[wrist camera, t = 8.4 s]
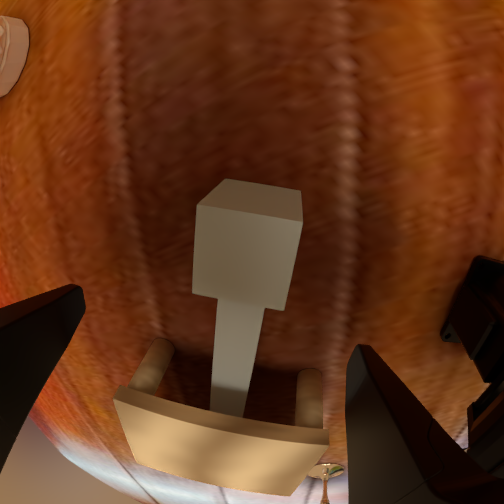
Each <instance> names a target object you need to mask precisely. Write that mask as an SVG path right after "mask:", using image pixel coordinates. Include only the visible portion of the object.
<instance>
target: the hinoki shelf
mask: <svg viewBox="0 0 504 504" xmlns="http://www.w3.org/2000/svg"><path fill="white" fill-rule="evenodd" d="M174 353H175V348H174V346H173V345H172V343H170V342H169V341H168V340H166V339H163V338H157V339H155V340H154V341H153V343H152V345H151V346H150V348H149V350H148V351H147V353H146V355H145V357H144V358H143V360H142V362H141V363H140V365H139V367H138V369H137V370H136V372H135V374H134V376H133V377H132V379H131V381H130V383H129V384H128V386H127V387H125V386H122V385H120V386H119V388H118V390H117V392H116V393H115V395H114V397H113V401H114V404H115V407H116V410H117V413H118V416H119V419H120V422H121V424H122V427H123V430H124V433H125V435H126V438H127V440H128V443H129V446H130V448H131V450H132V453H133V455H134V458H135V460H136V462H137V463H139V464H141V465H144V466H147V467H150V468H153V469H156V470H159V471H163V472H166V473H169V474H172V475H176V476H179V477H183V478H187V479H191V480H195V481H199V482H203V483H207V484H212V485H216V486H221V487H226V488H231V489H237V490H243V491H249V492H256V493H263V494H271V495H280V496H291V494H292V493H293V492H294V491H295V490H296V488H297V487H298V486H299V485H300V483H301V482H302V481H303V480H304V479H305V477H306V476H307V475H308V473H309V472H310V471H311V470H312V468H313V467H314V466H315V464H316V463H317V462H318V460H319V459H320V458H321V456H322V455H323V454H324V452H325V451H326V449H327V448H328V447H329V429H323V401H322V375H321V373H320V372H319V371H318V370H316V369H311V368H309V369H304V370H302V371H300V372H299V373H298V375H297V393H296V412H295V426H290V425H283V424H276V423H269V422H263V421H257V420H251V419H245V418H240V417H235V416H230V415H225V414H221V413H216V412H212V411H207V410H203V409H199V408H195V407H191V406H187V405H183V404H180V403H176V402H172V401H169V400H165V399H162V398H159V397H155V396H154V394H155V392H156V390H157V388H158V386H159V384H160V382H161V379H162V377H163V375H164V373H165V371H166V369H167V367H168V365H169V363H170V361H171V359H172V357H173V355H174Z"/></svg>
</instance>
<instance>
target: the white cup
mask: <svg viewBox="0 0 504 504" xmlns="http://www.w3.org/2000/svg"><path fill="white" fill-rule="evenodd" d="M28 47H29V32H28V27H27V26H26V25H25V23H24V22H23V20H22V19H17V18H12V17H6V16H1V15H0V97H2V96H4V95H6V94H7V93H8V92H9V91H10V90H11V88H12V87H13V86H14V84H15V83H16V82H17V80H18V78H19V76H20V74H21V71H22V69H23V67H24V65H25V62H26V57H27V52H28Z"/></svg>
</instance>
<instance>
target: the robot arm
mask: <svg viewBox="0 0 504 504" xmlns="http://www.w3.org/2000/svg"><path fill="white" fill-rule="evenodd" d="M480 263H482V264H481V266H479V265H480ZM85 309H86V305H85V300H84V294H83V289H82V288H81V287H80V286H78V285H75V284H68V285H65V286H62V287H60V288H57V289H54V290H51V291H48V292H45V293H42V294H39V295H36V296H33V297H31V298H28V299H25V300H22V301H19V302H16V303H14V304H11V305H8V306H5V307H2V308H0V473H1V471H2V468H3V466H4V464H5V462H6V459H7V457H8V455H9V453H10V451H11V449H12V446H13V444H14V442H15V440H16V437H17V436H18V434H19V432H20V430H21V428H22V425H23V424H24V422H25V420H26V418H27V416H28V414H29V412H30V410H31V408H32V407H33V405H34V403H35V401H36V399H37V397H38V396H39V394H40V392H41V390H42V388H43V387H44V385H45V383H46V381H47V380H48V378H49V376H50V375H51V373H52V371H53V370H54V368H55V366H56V364H57V363H58V361H59V360H60V358H61V356H62V355H63V353H64V351H65V350H66V348H67V346H68V344H69V342H70V341H71V339H72V336H73V334H74V332H75V330H76V329H77V327H78V325H79V323H80V321H81V319H82V317H83V315H84V313H85ZM446 334H447V335H446ZM440 337H441V339H442V340H443V341H445V342H456V343H462V345H463V347H464V349H465V351H466V353H467V355H468V356H469V358H470V360H473V362H474V363H475V365H476V367H477V369H478V371H479V373H480V375H481V377H482V379H483V382H484V383H489V384H490V385H489V387H488V388H487V389H486V390H485V391H484V392H483V393H482V395H481V396H480V397H479V398H478V399H477V400H476V401H475V402H473V403H472V404H471V405H470V406H469V407H468V408H467V417H468V449H467V451H466V452H465V451H464V450H463V449H462V448H461V447H460V446H459V445H458V444H457V443H456V442H455V441H454V440H453V439H452V438H451V437H450V436H449V435H448V433H447V432H446V431H445V430H444V429H443V428H442V427H441V426H440V424H439V423H438V422H437V421H436V420H435V419H434V418H433V417H432V415H431V414H430V413H429V412H428V411H427V409H426V408H425V407H424V406H423V405H422V404H421V403H420V401H419V400H418V399H417V398H416V397H415V396H414V395H413V393H412V392H411V391H410V390H409V389H408V388H407V387H406V385H405V384H404V383H403V382H402V381H401V380H400V379H399V377H398V376H397V375H396V374H395V373H394V372H393V371H392V370H391V368H390V367H389V366H388V365H387V364H386V363H385V362H384V361H383V359H382V358H381V357H380V356H379V355H378V354H377V353H376V352H375V350H374V349H373V348H372V347H371V346H369V345H364V344H358V345H356V347H355V348H354V351H353V353H352V355H351V357H350V359H349V362H348V364H347V372H346V400H345V419H346V435H347V455H348V488H349V504H504V262H502V261H498V260H494V259H490V258H487V257H483V256H479V257H477V258H476V259H475V260H474V262H473V265H472V267H471V269H470V272H469V274H468V277H467V279H466V281H465V284H464V286H463V288H462V290H461V292H460V295H459V297H458V299H457V301H456V303H455V305H454V307H453V309H452V311H451V313H450V315H449V317H448V319H447V321H446V323H445V325H444V327H443V329H442V331H441V333H440ZM432 418H433V419H432Z"/></svg>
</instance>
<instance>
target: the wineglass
mask: <svg viewBox="0 0 504 504" xmlns="http://www.w3.org/2000/svg"><path fill="white" fill-rule="evenodd" d="M344 470H345V468H344V467H343V466H342V465H339V464H333V463H326V464H318V465H315V466H314V467H313V468H312V470H311V471H310V472H309V473H308V475H309V476H311V477H314V478H321V479H322V481H323V495H322V499H321V501H320V504H329V500H328V496H327V482H328V479H329V478H331V477H335V476H338V475H340V474H342V473H343V472H344Z"/></svg>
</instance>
